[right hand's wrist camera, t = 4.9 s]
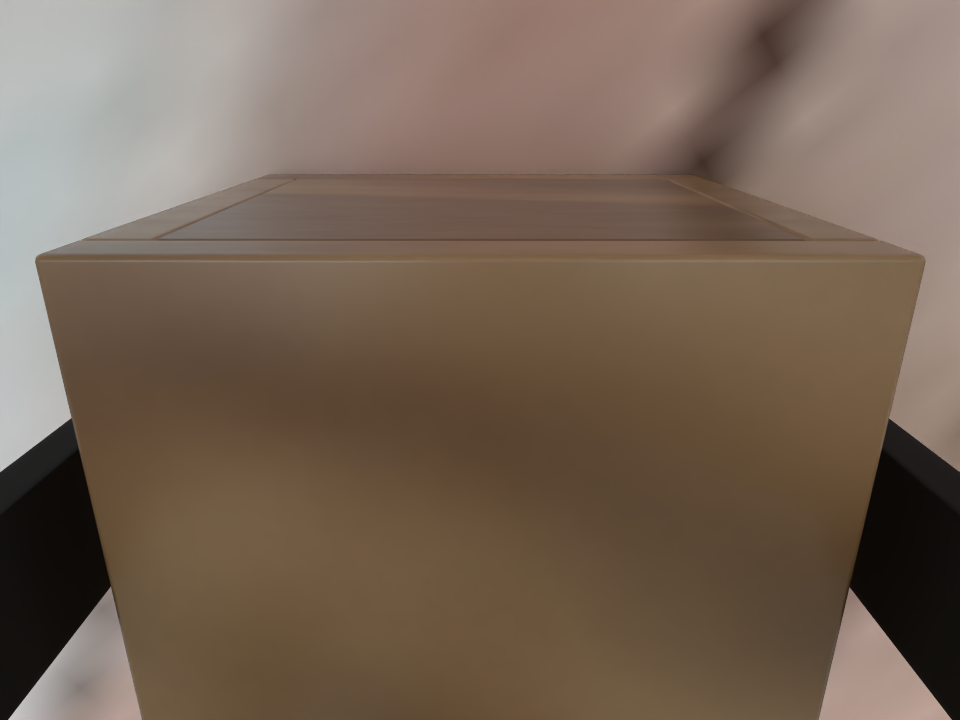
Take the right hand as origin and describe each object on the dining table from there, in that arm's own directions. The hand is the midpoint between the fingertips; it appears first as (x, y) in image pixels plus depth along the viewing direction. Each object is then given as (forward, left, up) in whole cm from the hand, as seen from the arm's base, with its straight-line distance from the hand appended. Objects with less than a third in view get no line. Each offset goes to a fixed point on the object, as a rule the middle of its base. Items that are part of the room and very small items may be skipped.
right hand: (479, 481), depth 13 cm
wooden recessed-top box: (+3, +4, -6) cm, 8 cm away
